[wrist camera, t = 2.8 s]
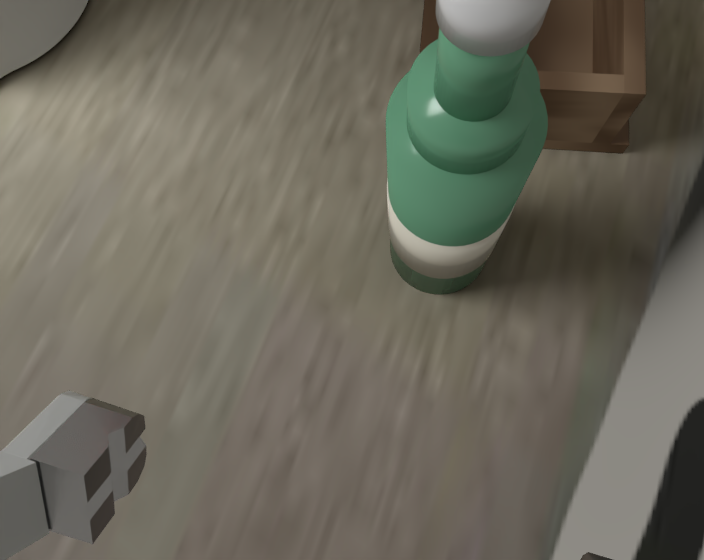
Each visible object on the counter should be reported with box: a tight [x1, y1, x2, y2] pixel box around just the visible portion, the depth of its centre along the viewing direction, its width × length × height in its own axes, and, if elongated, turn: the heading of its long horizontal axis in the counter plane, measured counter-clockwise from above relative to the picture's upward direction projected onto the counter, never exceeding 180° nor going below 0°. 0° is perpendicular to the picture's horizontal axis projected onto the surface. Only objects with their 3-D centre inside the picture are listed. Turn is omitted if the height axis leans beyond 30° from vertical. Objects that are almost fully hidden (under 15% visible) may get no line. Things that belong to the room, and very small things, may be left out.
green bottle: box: [386, 0, 551, 294], centre depth 24 cm, size 6×6×21 cm
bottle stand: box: [420, 0, 646, 153], centre depth 33 cm, size 12×11×6 cm
